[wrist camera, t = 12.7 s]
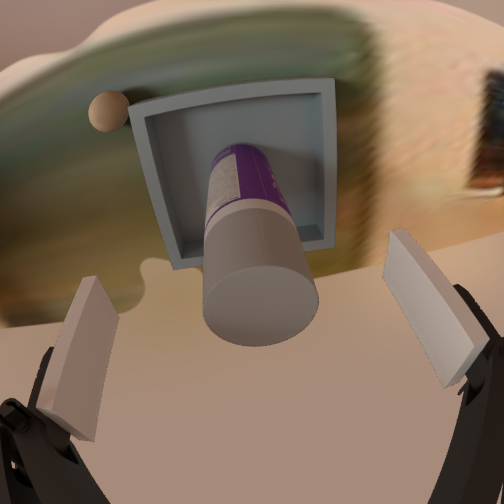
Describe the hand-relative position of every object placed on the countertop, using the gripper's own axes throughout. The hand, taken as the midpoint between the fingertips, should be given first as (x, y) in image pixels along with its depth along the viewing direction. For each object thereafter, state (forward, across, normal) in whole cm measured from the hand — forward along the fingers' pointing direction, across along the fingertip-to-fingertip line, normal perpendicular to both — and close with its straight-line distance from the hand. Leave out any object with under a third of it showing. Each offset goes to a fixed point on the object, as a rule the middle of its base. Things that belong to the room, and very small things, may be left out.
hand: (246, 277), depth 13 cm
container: (+13, +1, 0) cm, 13 cm away
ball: (+14, -8, +7) cm, 18 cm away
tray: (+14, +1, 0) cm, 14 cm away
